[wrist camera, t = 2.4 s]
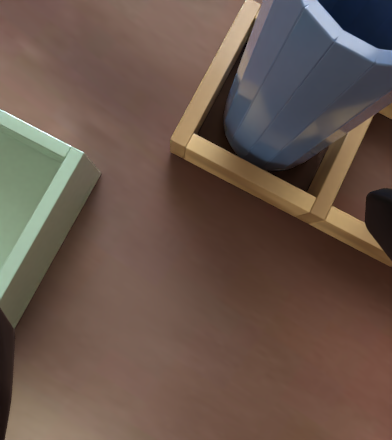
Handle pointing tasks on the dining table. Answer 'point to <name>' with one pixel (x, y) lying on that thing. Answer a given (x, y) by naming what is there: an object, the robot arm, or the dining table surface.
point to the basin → (35, 206)
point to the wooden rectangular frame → (262, 180)
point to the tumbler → (308, 78)
